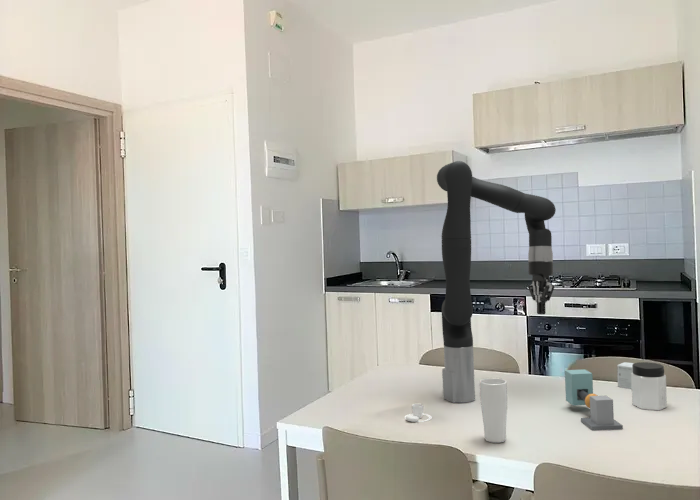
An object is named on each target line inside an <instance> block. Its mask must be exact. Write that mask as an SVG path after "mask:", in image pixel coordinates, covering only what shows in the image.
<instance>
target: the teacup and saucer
mask: <svg viewBox="0 0 700 500" xmlns="http://www.w3.org/2000/svg"><path fill="white" fill-rule="evenodd" d="M411 410H412V413H408V414H406V415H404V417H403V419H404V420H406V421H407V422H411V423H423V422H429V421H430V420H432V419H433V418H432V415H430V414H428V413H424V405H423V403H413V404H411ZM423 416H426V417H428V418H427V419H424V420H423V419H422V418H423ZM420 419H422V420H420Z"/></svg>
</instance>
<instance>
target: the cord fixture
mask: <svg viewBox="0 0 700 500" xmlns="http://www.w3.org/2000/svg"><path fill="white" fill-rule="evenodd" d="M577 396H578V397H579V398H581V399H582V400H584V401H585V404H586V405H585V406H586V407H587V408H588V409H589V411H590V412H589V413H590V417H580V422H581V424H583V425H584V426H586V427H587V428H588V429H590V430H591V431H607V430H608V431H611V430H624V425H623V424H622V423H620V422H618V421H617V420H615V418H614V417H615V415H614V414H615V413H614V399H613V398H611V397H610V396H608V395H599V394H596V393H593V394H589V393H587V392H585V391H584V390H582V389H577Z"/></svg>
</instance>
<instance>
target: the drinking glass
mask: <svg viewBox="0 0 700 500" xmlns="http://www.w3.org/2000/svg"><path fill="white" fill-rule="evenodd" d="M507 382H508V381H507V380H506V379H503V378H498V377H486V378H481V379H480V380H479V398H480V399H479V400H480V407H481V415H482V423H483V424H482V425H483V434H484V435H483V436H484V439H485V440H486V441H487V442H489V443H493V444H501V443H504V442H505V441H506V440H507V418H508V417H507V415H508V383H507Z"/></svg>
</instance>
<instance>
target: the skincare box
mask: <svg viewBox="0 0 700 500" xmlns="http://www.w3.org/2000/svg"><path fill="white" fill-rule="evenodd" d="M634 363H635V362H626V361H624V362H621V363H618V364H617V365H616V367H617V371H616V372H617V387H619V388H624V389H629V390H632V386H631V373H633V367H632V365H633V364H634Z"/></svg>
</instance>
